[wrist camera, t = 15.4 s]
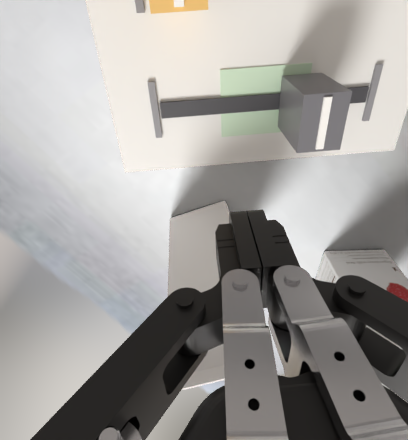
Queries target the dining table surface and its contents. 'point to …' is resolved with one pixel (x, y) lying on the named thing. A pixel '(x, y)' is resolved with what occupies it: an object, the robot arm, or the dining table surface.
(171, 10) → the fader amber
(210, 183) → the dining table surface
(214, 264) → the milk carton
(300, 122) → the fader charcoal
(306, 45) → the board
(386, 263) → the supplement box
